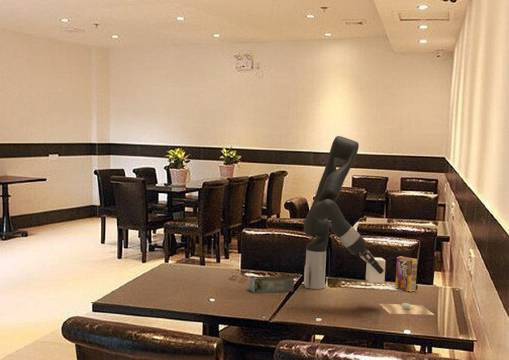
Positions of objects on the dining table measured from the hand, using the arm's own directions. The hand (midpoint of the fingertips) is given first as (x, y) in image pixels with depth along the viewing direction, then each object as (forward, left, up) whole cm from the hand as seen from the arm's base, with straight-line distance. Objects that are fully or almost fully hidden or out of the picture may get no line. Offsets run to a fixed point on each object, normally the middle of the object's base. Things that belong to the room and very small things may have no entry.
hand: (379, 270), depth 233 cm
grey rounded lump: (+12, 0, -15) cm, 19 cm away
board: (+12, 0, -16) cm, 20 cm away
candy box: (+24, +38, -16) cm, 48 cm away
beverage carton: (-40, +29, -17) cm, 53 cm away
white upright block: (-2, 0, -4) cm, 5 cm away
